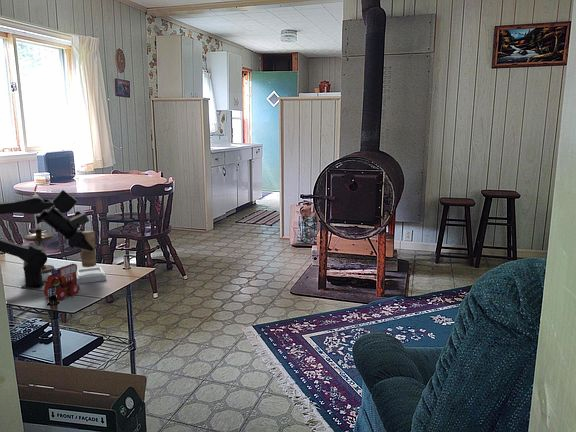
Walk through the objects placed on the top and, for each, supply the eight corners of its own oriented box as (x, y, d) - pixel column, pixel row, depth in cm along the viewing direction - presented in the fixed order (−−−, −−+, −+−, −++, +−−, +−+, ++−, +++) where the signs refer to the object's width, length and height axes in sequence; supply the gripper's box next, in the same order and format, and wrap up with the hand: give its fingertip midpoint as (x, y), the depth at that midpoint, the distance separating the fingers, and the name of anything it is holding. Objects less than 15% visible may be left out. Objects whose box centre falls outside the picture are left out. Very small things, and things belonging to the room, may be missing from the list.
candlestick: (62, 266, 193) (56, 182, 187) (46, 274, 182) (39, 186, 176) (36, 265, 194) (30, 182, 187) (20, 273, 183) (12, 185, 177)
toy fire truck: (39, 299, 157) (36, 270, 155) (70, 288, 168) (68, 261, 166) (52, 303, 154) (50, 273, 152) (84, 292, 165) (82, 264, 163)
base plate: (77, 283, 173) (76, 276, 173) (75, 276, 182) (74, 269, 181) (105, 280, 178) (105, 273, 177) (102, 272, 186) (101, 266, 186)
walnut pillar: (93, 267, 177) (92, 233, 174) (80, 267, 176) (78, 233, 174) (97, 263, 181) (96, 230, 179) (84, 263, 181) (82, 230, 179)
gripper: (76, 210, 165) (110, 237, 172) (72, 202, 181) (103, 227, 188) (53, 233, 162) (89, 260, 170) (50, 223, 178) (83, 248, 186)
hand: (92, 248), depth 178 cm, fingers closed on walnut pillar, 5 cm apart
